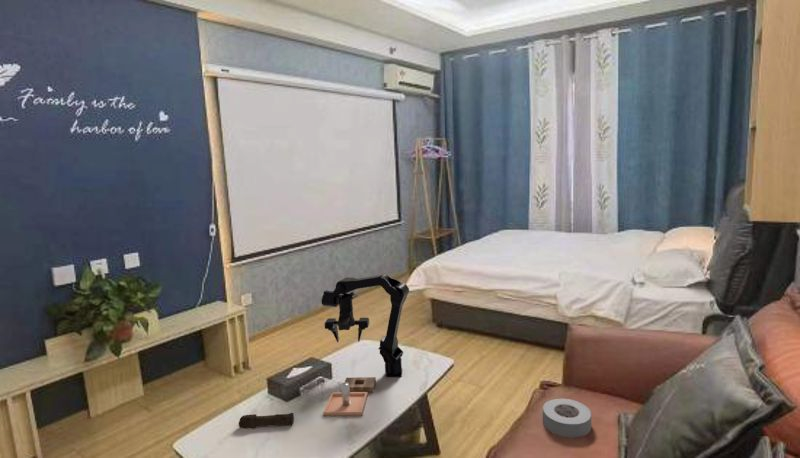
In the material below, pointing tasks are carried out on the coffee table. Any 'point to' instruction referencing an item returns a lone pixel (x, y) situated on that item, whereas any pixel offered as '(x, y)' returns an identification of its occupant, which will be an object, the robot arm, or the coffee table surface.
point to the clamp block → (362, 384)
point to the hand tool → (265, 420)
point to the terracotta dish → (354, 409)
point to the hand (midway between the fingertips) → (348, 341)
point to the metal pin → (345, 394)
